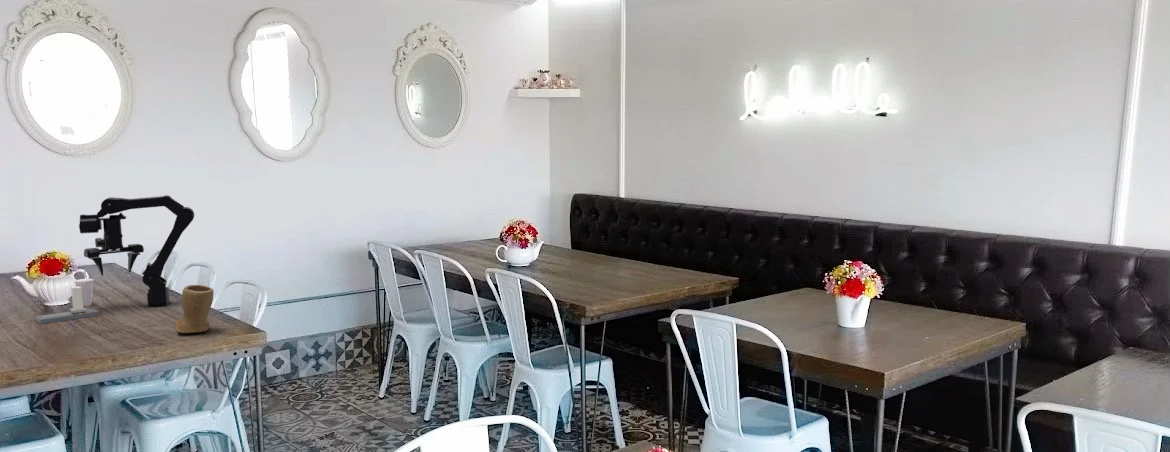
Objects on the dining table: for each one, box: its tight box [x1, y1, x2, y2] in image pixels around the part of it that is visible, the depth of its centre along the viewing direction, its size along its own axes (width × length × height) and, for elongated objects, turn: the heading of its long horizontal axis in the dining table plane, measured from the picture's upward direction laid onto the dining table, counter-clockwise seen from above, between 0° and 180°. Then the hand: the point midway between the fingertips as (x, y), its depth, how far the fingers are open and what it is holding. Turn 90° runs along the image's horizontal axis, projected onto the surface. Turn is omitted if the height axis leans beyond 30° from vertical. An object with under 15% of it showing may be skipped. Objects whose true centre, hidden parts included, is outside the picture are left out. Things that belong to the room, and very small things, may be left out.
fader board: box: [34, 307, 100, 325], centre depth 303 cm, size 18×8×2 cm, turn 133°
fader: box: [69, 286, 87, 313], centre depth 304 cm, size 4×5×9 cm
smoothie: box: [74, 268, 95, 307], centre depth 324 cm, size 6×6×14 cm
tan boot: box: [175, 284, 215, 334], centre depth 281 cm, size 15×12×15 cm
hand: (115, 273), depth 317 cm, fingers open, 9 cm apart
